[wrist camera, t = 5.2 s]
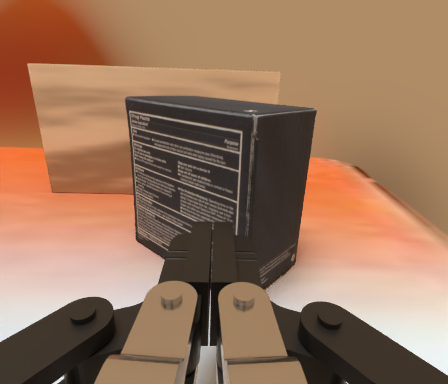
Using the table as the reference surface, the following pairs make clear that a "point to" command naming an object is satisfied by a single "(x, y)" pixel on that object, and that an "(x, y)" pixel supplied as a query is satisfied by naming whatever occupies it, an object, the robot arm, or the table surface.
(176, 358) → the robot arm
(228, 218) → the small box
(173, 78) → the maple board
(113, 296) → the table surface
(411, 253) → the table surface
